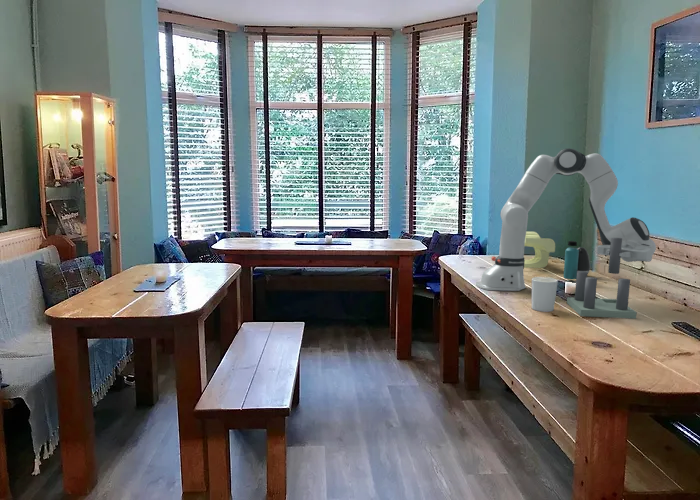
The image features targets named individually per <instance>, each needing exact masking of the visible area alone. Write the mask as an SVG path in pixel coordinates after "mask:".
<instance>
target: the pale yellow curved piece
mask: <svg viewBox="0 0 700 500" xmlns="http://www.w3.org/2000/svg"><path fill="white" fill-rule="evenodd" d="M524 247H531V248H533V249H534V253H535V254H534V257H533V258H529V259H525V261H524V269H527V268H528V269H529V268H530V269H532V268H534V269H536V268H537V269H543V268H546V267H547V266H548V264H549V259H550V253H556V242H555V241H554V239H552V238H550V237H549V238H546V237H545V238H544V237H541V236H540V235H539V233H537V231H526V237H525V245H524Z"/></svg>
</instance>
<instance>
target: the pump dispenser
mask: <svg viewBox="0 0 700 500" xmlns="http://www.w3.org/2000/svg"><path fill="white" fill-rule="evenodd" d="M576 248H577V249H578V250H579V254H578V270H577V272H578V271H583V272H587V273H588V274H589V272H590V271H591V261H590V255H589V252H588V251H587V249H586V248H585V247H582V246H579V247H576Z"/></svg>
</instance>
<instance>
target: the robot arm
mask: <svg viewBox="0 0 700 500" xmlns="http://www.w3.org/2000/svg"><path fill="white" fill-rule="evenodd" d="M577 173H578V174H580V175H582V177H584V179H585V181H586V183H587V184H588V187H589V191H590V196H589V197H588V203H589V207H590V210H591V213H592V216H593V219H594V221H595V225H596V227H597V229H598V230H597V231H598V233H599V238H600V242H601V245H597V247H596V253H597V255H601V256H609V257H610V245H611V238H622V247H621V252H620V253H619V257H621V259H620V260H623V261H625V262H626V263H627V262H628V263H633V262H634V263H635V262H652V260H653V255H654V254H655V252H656V249H657V247H656V246H657V244H656V242H655V241H654V240H653V239H652V238H650V231H649V228H648V226H647V224H646V223H645V222H644V221H643V220H641V219H639V218H637V217H630V218H628V219H627V218H626V220H623V221H621V222H618V223H617V224H615V225H613V226H611V224H610V222H609V220H608V216H607V213H606V211H605V208H606V207H605V206H606V204H607V202H608V201H609V200H610V199H611V197H612V196H613V195H614V194H615V193H616V190H617V189H618V186H619V183H618V181H619V180H618V178H617V176H616V174H615V172H614V170H613V169H612V167H611V166H610V165H609V163H608V161H607V160H606V159H605V158H604V157H603V156H602V155H601V154H600V153H595V152H594V153H590V154H587V155H585V154H584V153H582V152H580V151H578V150H576V149H574V148H564V149H561V150H560V151H559V152H558V153H557V154H556V156H551V155H548V154H540V155H537V157H536V158H535V159H534V160H533V161H532V162H531V164H530V165H529V167H528V168H527V169H526V171H525V172H524V175H523V176H522V177H521V179H520V181H519V182H518V185H517V186H516V188H515V189H514V190H513V191H512V193H511V195H510V196H509V197H508V199H507V200H506V202H505V204H504V205H503V207H502V208H501V210H500V219H501V221H502V222H501V232H500V239H499V253H498V256H491V261H492V262H494V264H493V265H492V266H490V267H488V268H487V269H486V270H484V271H483V272H482V274H481V278H480V281H477V282H476V283H475V286H476V287H478V288H480V289H482V290H486V291H504V292H505V291H509V292H511V291H513V292H517V291H518V292H520V291H521V290H525V289H526V284H525V277H524V276H525V275H524V269H525V268H524V261H525V260H526V259H525V246H524V245H525V237H526V232H527V230H528V221H529V214H528V213H529V212H530V210H531V209H532V208H533V206H534V205H535V204H536V203H537V202H538V200H539V198H540V197H541V195H543V192H544V191H545V189H546V188H547V186H548V184H549V182H550V180H551V179H552V178H553V177H554V176H555V175H562V176H567V177H569V176H574V175H575V174H577Z"/></svg>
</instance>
